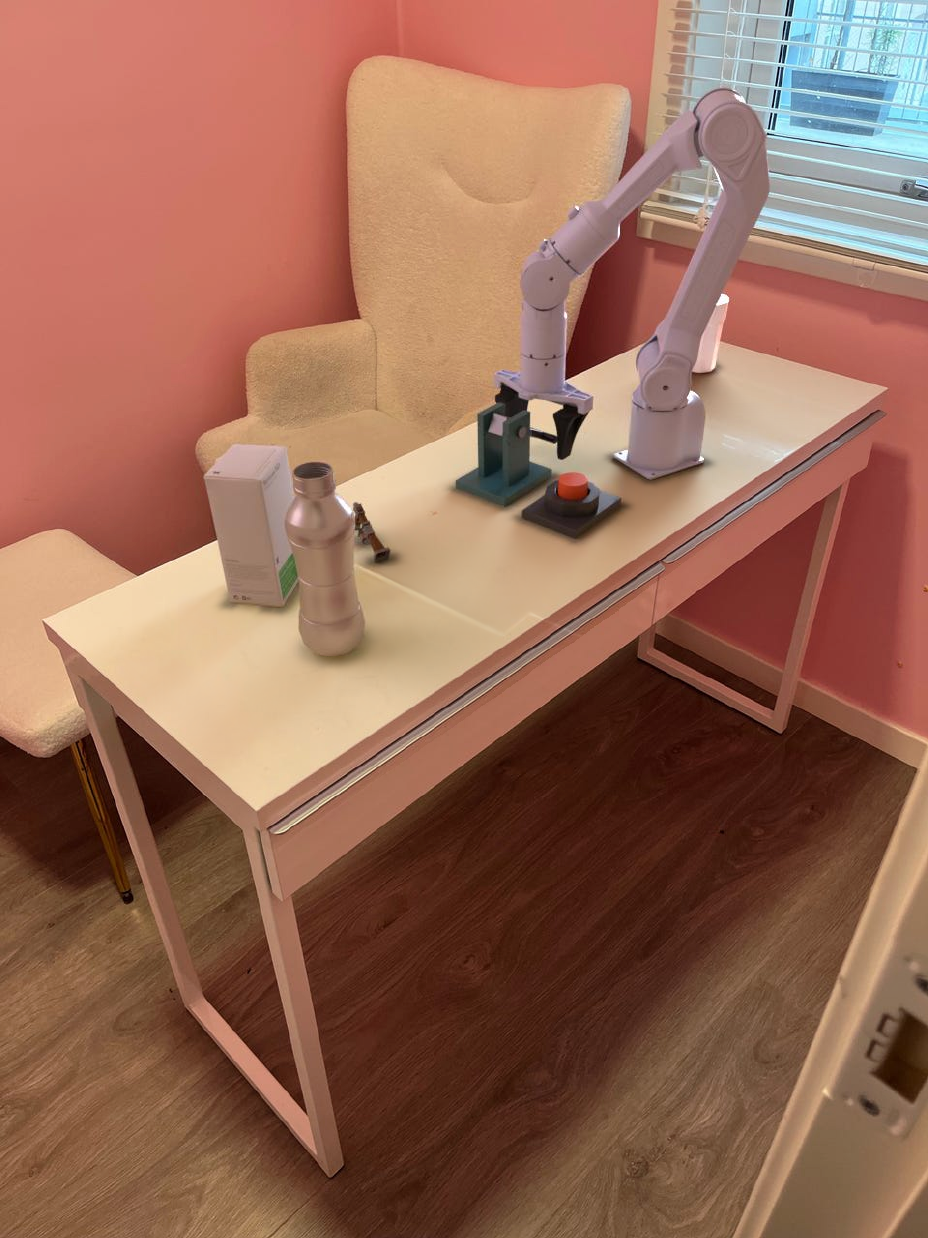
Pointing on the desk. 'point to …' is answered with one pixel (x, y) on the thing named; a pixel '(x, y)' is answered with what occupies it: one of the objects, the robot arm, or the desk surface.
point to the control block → (571, 510)
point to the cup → (711, 338)
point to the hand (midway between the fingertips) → (540, 448)
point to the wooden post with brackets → (368, 533)
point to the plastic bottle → (324, 562)
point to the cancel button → (572, 485)
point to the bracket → (503, 460)
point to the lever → (497, 429)
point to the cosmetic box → (253, 523)
